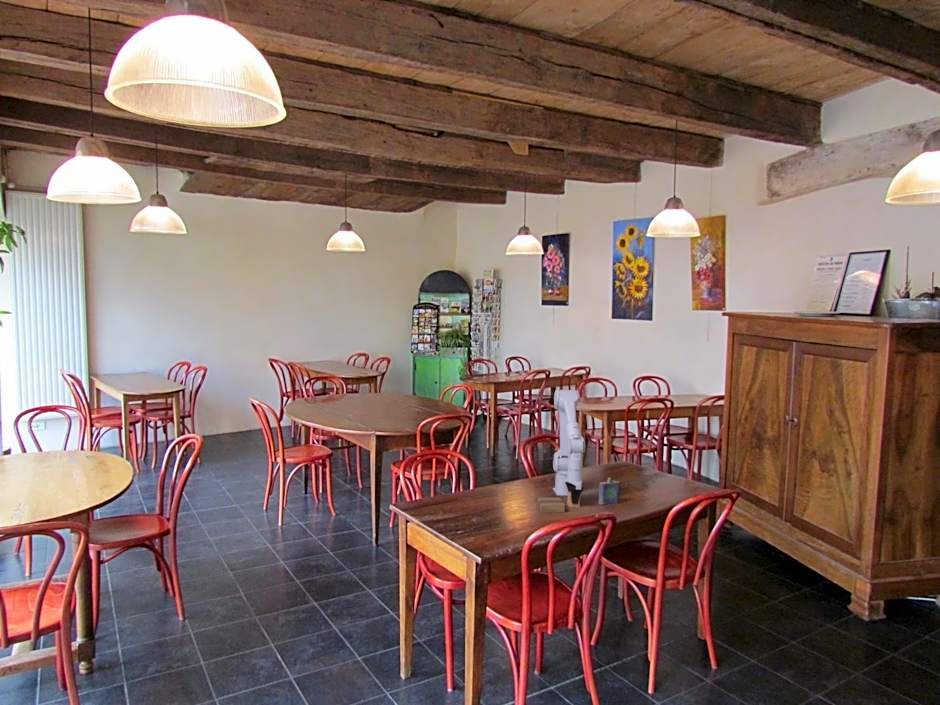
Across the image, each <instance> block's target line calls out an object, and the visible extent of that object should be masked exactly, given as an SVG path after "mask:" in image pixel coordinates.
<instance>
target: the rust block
mask: <svg viewBox="0 0 940 705" xmlns="http://www.w3.org/2000/svg"><path fill="white" fill-rule="evenodd" d="M566 502H567V503H566V504H567V506H568V507H569V508H581V507H580V503H581V497H580V498H579V501H578V504H572V499H571V492H568V496H567V501H566Z"/></svg>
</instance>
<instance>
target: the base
mask: <svg viewBox="0 0 940 705" xmlns="http://www.w3.org/2000/svg"><path fill="white" fill-rule="evenodd" d="M537 506H538V509H539V510H540V512H541V513H565V511H566V504H565V503H564V502H563V500H562V499H561V497H537Z"/></svg>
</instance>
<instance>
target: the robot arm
mask: <svg viewBox="0 0 940 705" xmlns="http://www.w3.org/2000/svg"><path fill="white" fill-rule="evenodd" d="M579 403H580V392H579V390H577V389H555V391H554V394H553V404H554V405H553V406H554V410H557V411H558V416H559V417H558V418H559V422H558V423H559V449H558V450H557V451H555V452H554V454H553V460H552V467H553V470H554V472H555V476H554V478H555V481H554V487H552V490H553V491H554V493H555V494H556V496H567V497H568V492H571V499H572V504H578V501H579V498H580V499H581V494H582V492H583V491H584V487H583V486H582V483H583V461H584V458H583V457H584V454H585V452H586V442H585V438H584V437H583V436H582V431H581V425H580V423H578V422H577V412H576V411H577V409H576V408H577V407H578V405H579Z"/></svg>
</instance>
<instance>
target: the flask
mask: <svg viewBox="0 0 940 705" xmlns="http://www.w3.org/2000/svg"><path fill="white" fill-rule="evenodd" d="M606 479H607V480H606V481H602V482H599V487H598V489H599V490H598V502H597V503H598V505H599V506H611V505H619V504H620V492H621V491H620V490H621V482H620V481H618V480H612V479H611V477H606Z"/></svg>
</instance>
